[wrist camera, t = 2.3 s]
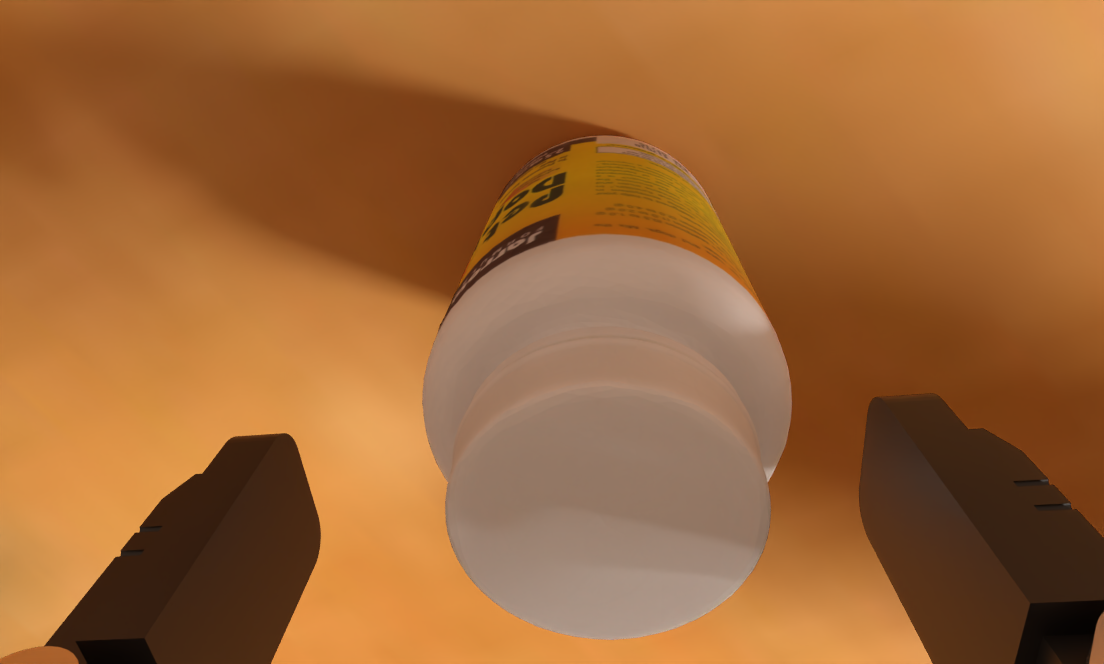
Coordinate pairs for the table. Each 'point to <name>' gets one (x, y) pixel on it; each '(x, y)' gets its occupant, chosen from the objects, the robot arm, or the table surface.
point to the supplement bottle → (606, 398)
